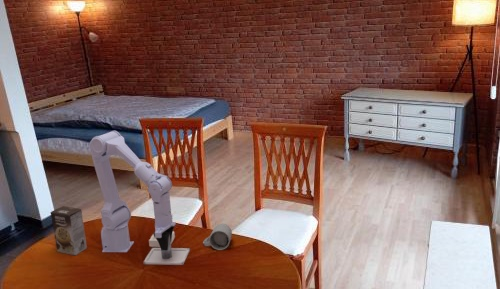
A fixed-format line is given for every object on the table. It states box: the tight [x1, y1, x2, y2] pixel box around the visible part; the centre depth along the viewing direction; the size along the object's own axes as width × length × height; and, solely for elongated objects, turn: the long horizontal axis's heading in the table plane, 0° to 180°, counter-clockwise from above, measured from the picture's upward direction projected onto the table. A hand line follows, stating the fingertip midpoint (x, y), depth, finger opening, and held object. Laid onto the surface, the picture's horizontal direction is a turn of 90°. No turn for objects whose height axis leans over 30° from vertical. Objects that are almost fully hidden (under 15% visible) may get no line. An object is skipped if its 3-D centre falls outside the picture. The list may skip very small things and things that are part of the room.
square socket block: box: [148, 230, 176, 248], centre depth 168 cm, size 8×8×3 cm
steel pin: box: [161, 231, 172, 259], centre depth 156 cm, size 4×4×9 cm
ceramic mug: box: [202, 223, 233, 251], centre depth 165 cm, size 11×8×8 cm
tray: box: [142, 247, 191, 266], centre depth 158 cm, size 14×10×1 cm
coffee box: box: [50, 205, 88, 256], centre depth 164 cm, size 9×6×16 cm
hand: (166, 247), depth 157 cm, fingers closed on steel pin, 3 cm apart
